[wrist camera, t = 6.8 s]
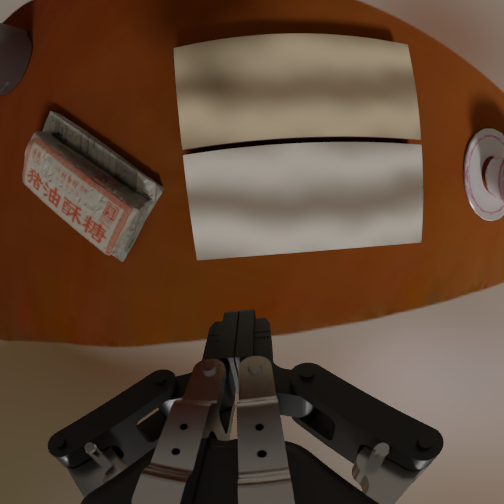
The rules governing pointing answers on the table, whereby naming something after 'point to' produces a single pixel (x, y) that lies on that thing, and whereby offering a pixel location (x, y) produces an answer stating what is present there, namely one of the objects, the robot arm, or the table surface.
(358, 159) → the whitewashed plank
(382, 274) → the table surface
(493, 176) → the teacup
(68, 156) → the packaged product
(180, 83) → the oak plank
